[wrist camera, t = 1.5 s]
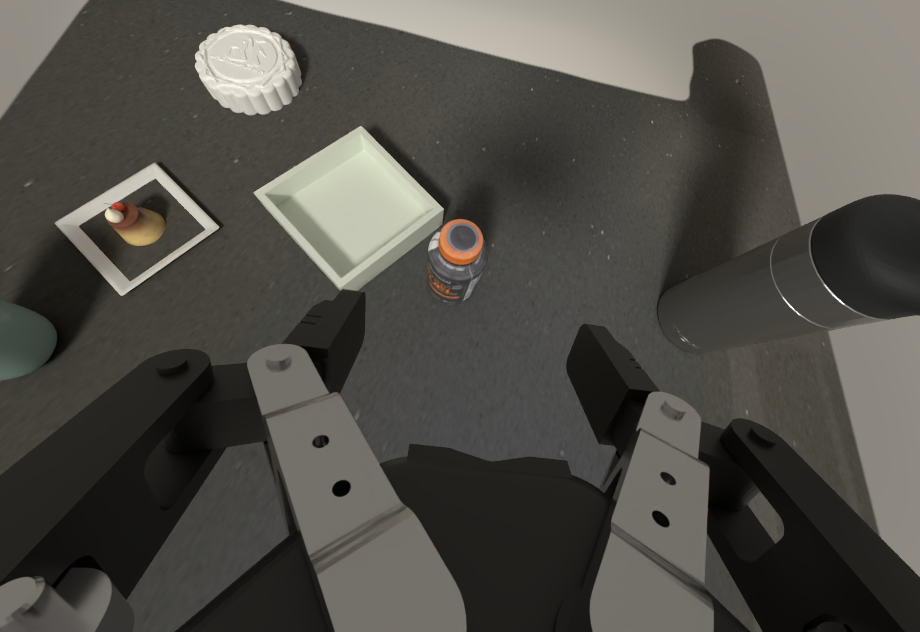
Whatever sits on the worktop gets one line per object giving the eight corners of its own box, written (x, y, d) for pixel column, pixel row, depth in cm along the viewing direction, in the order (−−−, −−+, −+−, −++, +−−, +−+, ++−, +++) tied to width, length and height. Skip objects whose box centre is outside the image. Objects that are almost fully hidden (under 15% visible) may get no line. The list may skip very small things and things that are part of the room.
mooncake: (316, 64, 46) (308, 37, 43) (280, 128, 43) (268, 104, 40) (234, 37, 46) (219, 7, 43) (191, 99, 43) (171, 73, 39)
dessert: (161, 168, 40) (128, 137, 36) (225, 232, 39) (198, 209, 34) (64, 228, 37) (13, 202, 32) (130, 299, 36) (87, 284, 31)
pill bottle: (416, 285, 39) (414, 240, 28) (446, 251, 41) (455, 195, 30) (455, 315, 39) (468, 281, 28) (484, 279, 40) (507, 234, 30)
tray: (365, 147, 43) (361, 125, 40) (442, 224, 42) (443, 209, 38) (267, 210, 40) (253, 192, 36) (347, 298, 38) (339, 288, 35)
